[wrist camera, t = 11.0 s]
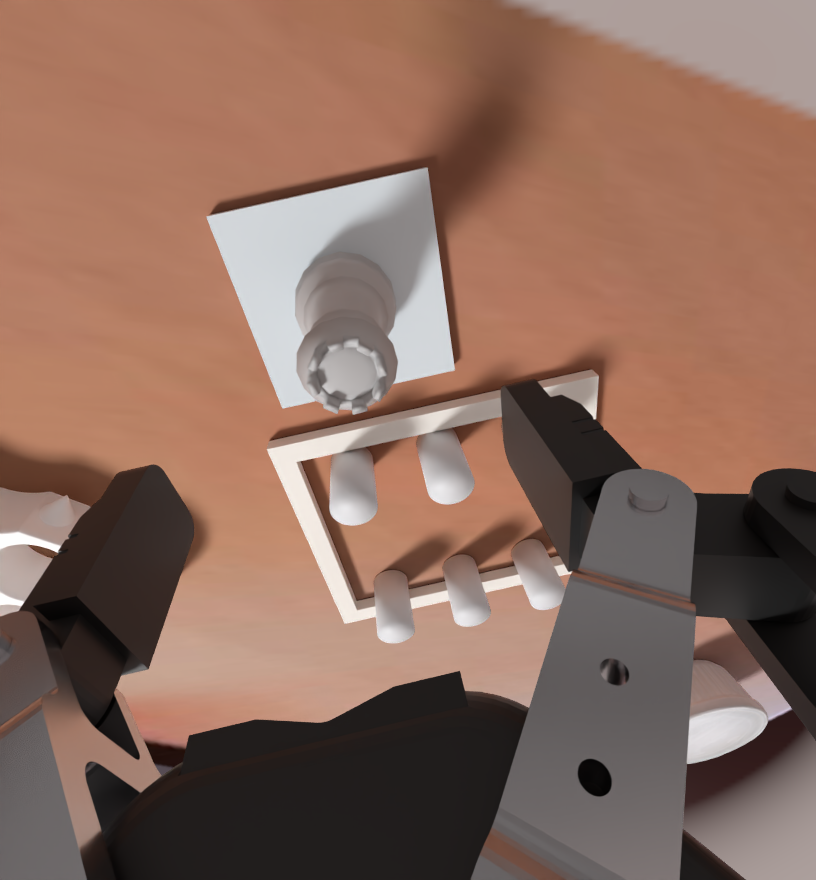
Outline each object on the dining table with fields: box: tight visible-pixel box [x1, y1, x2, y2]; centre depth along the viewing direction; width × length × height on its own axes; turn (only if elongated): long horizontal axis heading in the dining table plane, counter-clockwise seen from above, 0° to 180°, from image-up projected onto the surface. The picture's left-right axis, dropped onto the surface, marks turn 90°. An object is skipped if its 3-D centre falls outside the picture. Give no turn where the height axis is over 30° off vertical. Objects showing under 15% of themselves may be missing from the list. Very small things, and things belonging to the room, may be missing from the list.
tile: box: [207, 167, 455, 409], centre depth 21 cm, size 9×9×1 cm
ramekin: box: [687, 660, 768, 764], centre depth 44 cm, size 11×11×5 cm
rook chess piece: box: [295, 252, 398, 415], centre depth 17 cm, size 4×4×8 cm
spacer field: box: [267, 369, 599, 643], centre depth 27 cm, size 18×16×4 cm
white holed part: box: [0, 487, 91, 616], centre depth 26 cm, size 3×18×15 cm
